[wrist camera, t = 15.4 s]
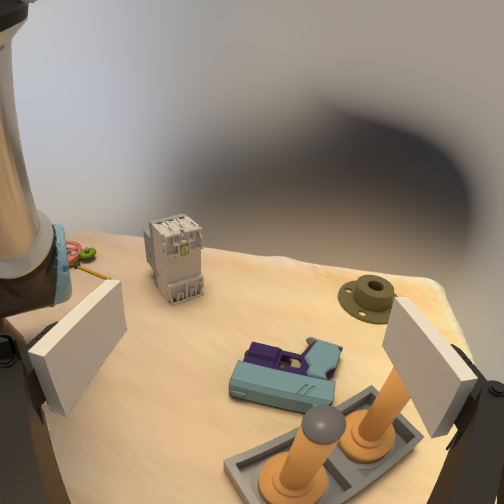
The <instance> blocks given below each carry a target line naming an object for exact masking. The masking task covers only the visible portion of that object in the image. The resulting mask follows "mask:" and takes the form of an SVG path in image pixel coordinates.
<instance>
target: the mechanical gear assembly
mask: <svg viewBox="0 0 504 504" xmlns="http://www.w3.org/2000/svg"><path fill="white" fill-rule="evenodd" d="M66 244H71V245H74V246H76V248H72V249H69V250H67V254H68V264H69V267H70V266H71V267H73V266H74V268H75V269H77V268H79V269H81V270H84V271H86V272H88V273H91V274H93V275H96V276H98V277H101V278H103V279H106V280H107V279H109V280H111V278H108V277H106V276H103V275H101V274H98V273H96V272H93V271H91V270H88V269H86V268H83V267H81V266H80V262H78V261H79V260H80V259H82V258H83V259H84V258H85V259H86V258H87V259H88V258H90V257H92V256H93V255H95V254H96V250H95V249H94V248H88V246H85V249H83V250H82V247H81V245H80V244H79V243H77V242H73V241H72V242H71V241H67V242H66ZM76 249H78V252H77V254H76V255H71V251H73V250H76Z"/></svg>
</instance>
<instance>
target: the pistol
mask: <svg viewBox="0 0 504 504" xmlns="http://www.w3.org/2000/svg"><path fill="white" fill-rule="evenodd" d="M306 341H307V343H308V344H309V347H308V348H307V349H306V350H305V351H304V352H303V353H302V354H301V355H299V354H296V353H292V352H287V351H282V349H279V348H278V347H273V346H269V345H265V344H260V343H256V342H252V343H251V345H250V348H249V350H247V351H246V352H245V357H244V360H243V361H240V360H238V363H237V365H236V367H235V369H234V372H233V374H232V376H231V379H230V383H229V395H231V396H235V397H239V398H242V399H246V400H250V401H254V402H258V403H262V404H266V405H270V406H274V407H279V408H283V409H288V410H292V411H297V412H302V413H306V412H307V411H308V410H309V409H310V408H312V407H314V406H318V405H329V406H331V405H332V403H333V399H334V391H335V383H336V382H335V381H330V380H328V379H329V378H332V376H333V374H334V371H335V368H336V366H337V363H338V360H339V357H340V355H341V352H342V349H343V347H342V346H339V345H335V344H332V343H328V342H325V341H322V340H318V339H316V338H313V337H309V338H307V339H306ZM280 361H283V362H288V363H292V364H291V366H288V365H285V366H284V367H283V368H281V367H279V365H280Z"/></svg>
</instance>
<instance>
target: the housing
mask: <svg viewBox="0 0 504 504" xmlns="http://www.w3.org/2000/svg"><path fill="white" fill-rule="evenodd" d="M378 394H379V392H378V391H377V390H376V389H375V388H374V387H373V386H372V385H371V386H369V387H368V388H366V389H365V390H363V391H362V392H360V393H358V394H357V395H355V396H353V397H352V398H350V399H348V400H347V401H345V402H343V403H342V404H340V405H338V406H337V407H335V408H336V409H338V410H339V411H340V412H341V413H342V414H343V415H344V417H345V418H346V417H347V416H348V415H350V414H351V413H353V412H355V411H359V410H369V409H370V407H371V405H372V404H373V402H374V400H375V399H376V397H377V395H378ZM392 425H393V427H394V430H395V441H394V444H393V446H392V448H391V449H390V450H389V451H388V452H387V453H386V454H385V455H384V457H382V458H381V459H380V460H378V461H376V462H374V463H370V464H358V463H354V462H352V461H350V460H348V459H347V457H346V456H345V455H344V454H343V453H342V452H341V450H340V449H339V448H338V447H337V444H336V446H335V447H334V449H333V450H332V452H331V453H330V455H329V456H328V458H327V459H326V461H325V462H324V463H323V465H322V466H323V467H324V469H325V471H326V474H327V486H326V489H325V491H324V493H323V495H322V496H321V497H320V498H319V499H318V500H317V501H316V502H315V503H314V504H342V503H344V502H345V501H347V500H348V499H350V498H351V497H353V496H354V495H355V494H357V493H358V492H360V491H361V490H363V489H364V488H365V487H367V486H368V485H369V484H371V483H372V482H373V481H375V480H376V479H377V478H379V477H380V476H381V475H382V474H384V473H385V472H386V471H387V470H389V469H390V468H391V467H392V466H393V465H395V464H396V463H397V462H398V461H399V460H401V459H402V458H403V457H404V456H405V455H406V454H407V453H409V452H410V451H411V450H412V449H413V448H414V447H415V446H416V445H417V444H418V443H419V442H420V441H421V440H422V439H423V438H424V436H423V435H422V434H421V433H420V432H419V431H418V430H417V429H416V428H415V427H414V426H413V425H412V424H411V423H410V422H409V421H408V420H407V419H406V418H405V417H404V416H403V415H402V414H401V413H399V415H398V416H397V417H396V419H395V420H394V421H393V423H392ZM298 429H299V427H298V428H296V429H294V430H292V431H290V432H288V433H286V434H284V435H281V436H279V437H277V438H275V439H273V440H271V441H269V442H266V443H264V444H262V445H260V446H257V447H255V448H253V449H250V450H248V451H246V452H243V453H241V454H238V455H236V456H233V457H231V458H228V459H226V460H224V471H225V473H226V474H227V476H228V478H229V479H230V481H231V483H232V484H233V486H234V487H235V489H236V491H237V492H238V494H239V496H240V497H241V499H242V500H243V502H244V503H245V504H267V503H266V502H265V501H264V500H263V499H262V497H261V496H260V493H259V491H258V478H259V475H260V472H261V469H262V467H263V466H264V464H265V463H266V462H267V461H268V460H269V459H270V458H272V457H274V456H275V455H278V454H280V453H284V452H289V451H290V449H291V447H292V444H293V442H294V439H295V437H296V434H297V432H298Z"/></svg>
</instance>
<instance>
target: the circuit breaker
mask: <svg viewBox="0 0 504 504" xmlns="http://www.w3.org/2000/svg"><path fill="white" fill-rule="evenodd" d="M178 218H179V219H178ZM167 221H169V222H167ZM156 223H158V224H156ZM149 227H150V229H147V230H144V240H145V249H146V258H147V262H148V263H149V264H150V266H151V267H152V269H153V270H154V275H155V276H156V277H155V284H156V286H157V288H158V289H159V290H160V292H161V293H162V295H163V296H164V297H165V299H166V300H167V301H168V302H170V306H172V305H175V304H178V303H181V302H184V301H187V300H190V299H193V298H196V297H199V296H202V295H204V293H203V292H202V289H204V282H203V275H202V274H201V249H203V236H202V235H201V234H200V230H202V227H200V228H199V225H198V224H196V223H195V222H194V221H193V220H191V219H190V218H189V217H188V216H186V215H185V214H179V215H175V216H171V217H166V218H161V219H157V220H153V221H149ZM199 241H200V242H201V244H200V243H199ZM200 282H201V284H200ZM197 293H198V294H197ZM193 295H194V296H193ZM188 296H189V297H188ZM184 298H185V299H184ZM174 299H175V301H176V302H173V300H174ZM181 299H183V300H181ZM179 300H180V301H179Z"/></svg>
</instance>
